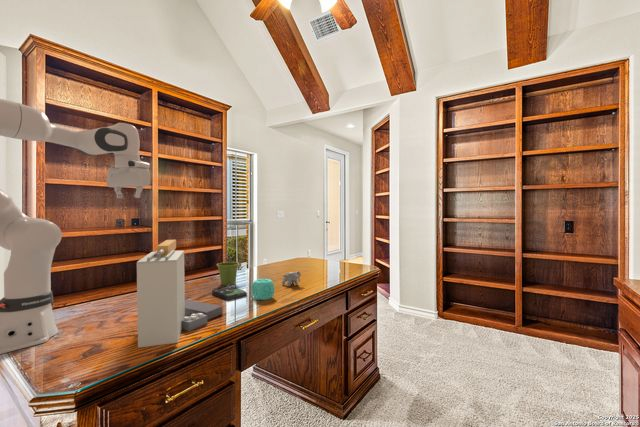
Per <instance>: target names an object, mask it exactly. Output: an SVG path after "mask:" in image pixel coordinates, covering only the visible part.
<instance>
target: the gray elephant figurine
mask: <svg viewBox="0 0 640 427" xmlns="http://www.w3.org/2000/svg"><path fill="white" fill-rule="evenodd" d="M301 275H302V274H301V272H300V271H294V272H293V271H290V272H287V273H285V274H283V275H282V277H283V279H282V281H281V285H282V286H285V284H286V282H287V284H286V286H287V287H288V288H290V287H291V284H295V286H298V284H299V283H301V278H300V277H301Z"/></svg>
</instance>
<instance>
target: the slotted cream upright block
mask: <svg viewBox="0 0 640 427" xmlns="http://www.w3.org/2000/svg"><path fill="white" fill-rule="evenodd" d="M156 253H157V250H156V251H151V252H150V253H147V255H145V256H144V257H142V258H140V259H139V260H138V261H136V296H137V297H136V298H137V304H136V305H137V307H136V308H137V312H136V313H137V348H138V349H139V348H145V347H155V346H161V345H170V344H178V343H179V340H180V337H181V334H182V330H183V329H182V319H183V318H184V317H186V316H185V300H186V296H185V295H186V294H185V293H186V292H185V286H186V285H185V250H176V249H175V250H172V251H171V252H170V253H169V254H168V255H167V256H156Z"/></svg>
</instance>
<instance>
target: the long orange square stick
mask: <svg viewBox="0 0 640 427" xmlns="http://www.w3.org/2000/svg"><path fill="white" fill-rule="evenodd" d="M176 249H177V240H176V239H166V240H164V241H162V242H161V243H160V244H158V245H157V246H156V251H157V253H156V256H167V255H168V254H169V253H170V252H171V251H172V250H175V251H176Z"/></svg>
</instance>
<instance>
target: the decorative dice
mask: <svg viewBox="0 0 640 427" xmlns="http://www.w3.org/2000/svg"><path fill="white" fill-rule="evenodd" d="M251 293H252V296H253V298H254V300H257V301H267V300H270V299H272V298H273V297H274V295H275V285H274V282H273V280H272V279H269V278H259V279H255V280H254V281H253V282H252V285H251Z"/></svg>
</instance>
